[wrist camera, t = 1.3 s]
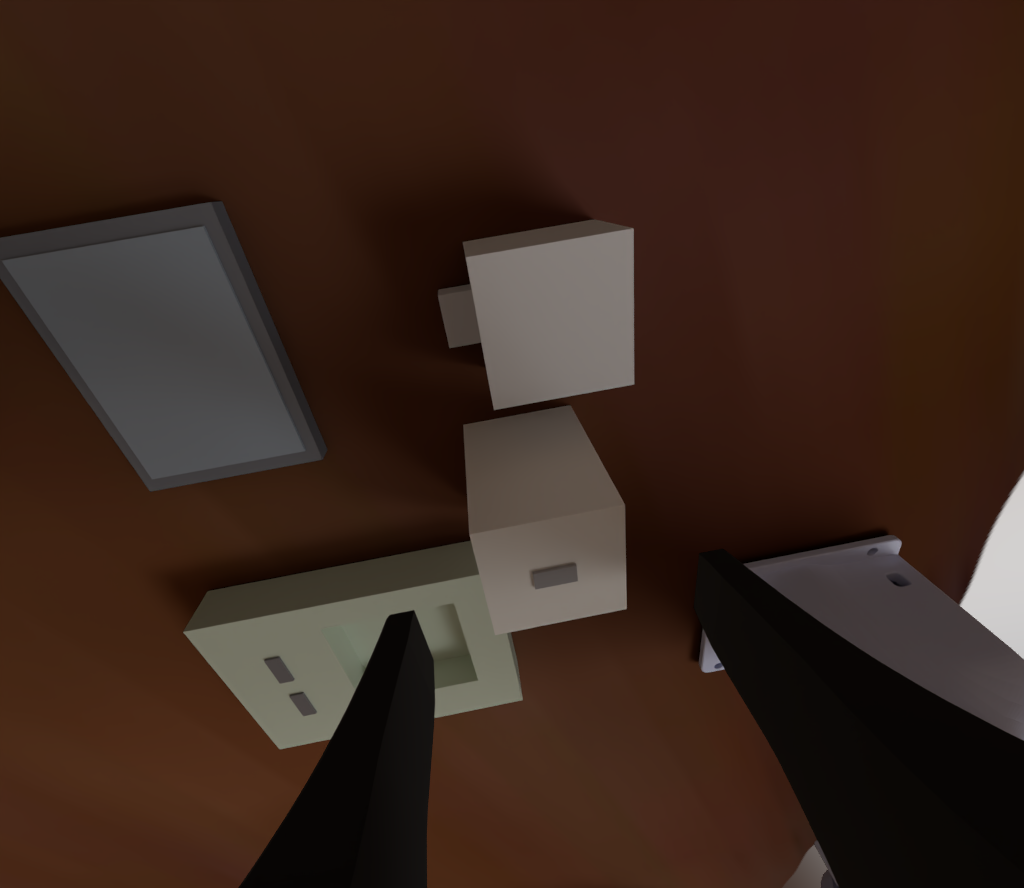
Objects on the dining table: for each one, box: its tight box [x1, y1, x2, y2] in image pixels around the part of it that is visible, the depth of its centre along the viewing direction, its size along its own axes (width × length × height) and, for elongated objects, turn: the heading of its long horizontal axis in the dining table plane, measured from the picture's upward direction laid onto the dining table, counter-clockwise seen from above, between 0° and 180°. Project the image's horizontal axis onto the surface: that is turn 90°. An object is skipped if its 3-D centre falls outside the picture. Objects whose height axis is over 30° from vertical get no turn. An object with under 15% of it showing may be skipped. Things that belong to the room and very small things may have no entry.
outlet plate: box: [183, 541, 523, 749], centre depth 20 cm, size 12×9×2 cm
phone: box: [0, 201, 327, 492], centre depth 14 cm, size 6×8×1 cm
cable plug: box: [438, 219, 634, 410], centre depth 13 cm, size 5×4×4 cm
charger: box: [463, 405, 627, 635], centre depth 15 cm, size 4×4×6 cm
